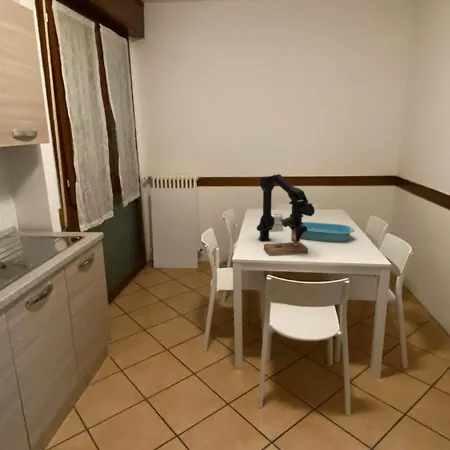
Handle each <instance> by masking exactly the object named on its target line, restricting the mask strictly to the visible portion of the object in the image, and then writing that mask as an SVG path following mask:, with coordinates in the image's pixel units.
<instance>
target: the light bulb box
mask: <svg viewBox="0 0 450 450" xmlns="http://www.w3.org/2000/svg"><path fill="white" fill-rule="evenodd" d="M271 215H272V217H273V218H274V223H275V224H274V226H273V228H272V230H269V232H283V229H284V226H283V225H282V222H281V220H283V219H284V216H283V215H282V213H271Z"/></svg>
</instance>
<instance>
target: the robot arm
mask: <svg viewBox="0 0 450 450" xmlns="http://www.w3.org/2000/svg"><path fill="white" fill-rule="evenodd" d="M275 183H276V185H278V186H279V187H280V188H281V189H282V190H283V191H285V192H286V193H287V196H288V198H289V199H290V202H288V204H289V205H291V213H290V214H289V216H288V217H286V218H285V217H284V218H283V220H281V222H282V225H283V228H286V227H289V229H290V230H291V232H292V229H294V230H293V231H294V232H295V234H296V241H299V239H300V240H301V235H302V234H303V232H307V227H306V226H305V225H301V224H303V222H304V221H303V217H304V216H307V217H313V215H314V214H315V212H316V211H315V210H316V209H315V207H314V205H313V203H310V202H309V200H308V198H307V197H306V194H305V191H304V190H303V189H301V188H298V187H296V186H294V185H292V184H291V183H290V182H289V181H288V180H287V179H285V178H284V176H283V175H282V174H279V173H278V174H273V175H270V176H263V177H261V178H260V188H261V189H262V195H263V196H262V198H263V199H262V215H261V217H260V221H259V223H258V225H257V226H256V231H258V232H259V237H258V239H259V241H260V242H269V241H271V238H270V231H269V230H272V228H273V226H274V224H275V223H274V218H273V217H272V215H271V214H272V197H273V195H272V191H273V190H274V188H275ZM299 242H300V241H299Z"/></svg>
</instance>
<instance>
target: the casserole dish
mask: <svg viewBox="0 0 450 450" xmlns="http://www.w3.org/2000/svg"><path fill="white" fill-rule="evenodd" d="M302 222H303V224H301V225H305V226H306V227H307V232H303V234H302V235H301V237H300V239H303V240H309V241H310V240H311V241H321V242H333V243H344V242H346V241H348V239H349V238H350V235H351V233H355V231H356V230H355V228H354V227H352V226H350V225H347V224H338V223H327V222H316V221H302Z"/></svg>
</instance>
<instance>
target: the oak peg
mask: <svg viewBox="0 0 450 450" xmlns="http://www.w3.org/2000/svg"><path fill="white" fill-rule="evenodd" d="M293 230H294V229H292V231H291V242H293V247H298V242H301V238H300V239H299V241H296V234H295V232H294V231H293Z"/></svg>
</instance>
